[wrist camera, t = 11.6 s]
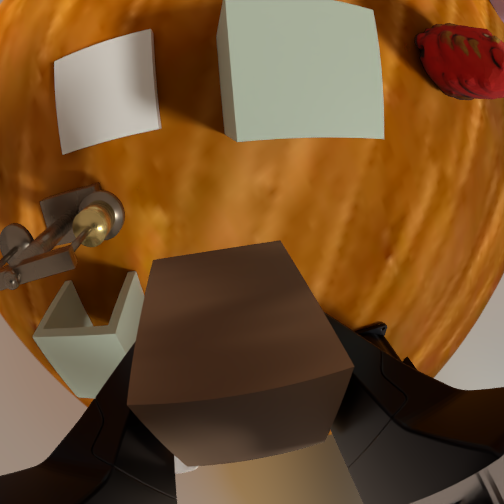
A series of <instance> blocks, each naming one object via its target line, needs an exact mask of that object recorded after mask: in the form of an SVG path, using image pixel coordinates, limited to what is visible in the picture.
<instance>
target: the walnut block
mask: <svg viewBox="0 0 504 504" xmlns="http://www.w3.org/2000/svg"><path fill="white" fill-rule="evenodd" d="M353 369H354V365H353V363H352V361H351V359H350V358H349V356H348V354H347V352H346V350H345V349H344V347H343V345H342V343H341V342H340V340H339V338H338V336H337V335H336V333H335V331H334V329H333V328H332V326H331V324H330V323H329V321H328V319H327V317H326V316H325V314H324V312H323V311H322V309H321V307H320V305H319V304H318V302H317V300H316V299H315V297H314V295H313V294H312V292H311V290H310V289H309V287H308V285H307V284H306V282H305V280H304V279H303V277H302V275H301V274H300V272H299V270H298V269H297V267H296V265H295V264H294V262H293V260H292V259H291V257H290V256H289V254H288V252H287V251H286V249H285V247H284V246H283V244H282V243H281V241H273V242H267V243H260V244H253V245H247V246H240V247H234V248H227V249H221V250H214V251H208V252H202V253H195V254H189V255H183V256H176V257H170V258H164V259H157V260H153V263H152V267H151V271H150V275H149V279H148V283H147V288H146V292H145V297H144V301H143V306H142V311H141V316H140V321H139V326H138V331H137V337H136V342H135V348H134V354H133V361H132V367H131V374H130V382H129V390H128V399H127V406H128V407H129V408H130V409H131V410H132V412H133V413H134V414H135V415H136V416H137V417H138V418H139V420H140V421H141V422H142V423H143V424H144V425H145V426H146V427H147V428H148V429H149V430H150V432H151V433H152V434H153V435H154V436H155V437H156V438H157V439H158V440H159V441H160V442H161V443H162V444H163V445H164V446H165V447H166V448H167V449H168V450H169V451H171V452H172V453H173V454H174V455H175V456H176V457H177V458H178V459H179V460H180V461H181V462H182V463H184V464H185V465H186V466H187V467H190V466H205V465H215V464H225V463H233V462H240V461H247V460H253V459H258V458H263V457H268V456H273V455H278V454H283V453H287V452H291V451H295V450H299V449H303V448H306V447H309V446H313V445H317V444H320V443H323V442H325V440H326V438H327V435H328V433H329V431H330V429H331V426H332V424H333V422H334V419H335V417H336V415H337V412H338V410H339V407H340V405H341V402H342V400H343V397H344V394H345V392H346V389H347V386H348V384H349V381H350V378H351V375H352V372H353Z"/></svg>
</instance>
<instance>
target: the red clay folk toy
mask: <svg viewBox="0 0 504 504" xmlns="http://www.w3.org/2000/svg"><path fill="white" fill-rule="evenodd" d="M415 44H416V46H417V47H418V48H419V49H420V50H421V54H420V60H421V62H422V64H423V66H424V69H425V71H426V72H427V74H428V75H429V77H430V78H431V80H432V81H433V82H434V83H435V84H436V85H437V86H439V88H440V90H441V91H442V92H443V93H444V94H445V95H447V96H450V97H454V98H456V99H459V100H472V99H474V98H476V99H496V98H503V97H504V43H503V42H502V41H501V40H500V39H498V38H497V37H495V36H492V34H491V33H490V31H488V30H487V29H482V28H474V27H468V26H462V25H455V24H451V23H446V24H445V25H442V24H435V25H434V26H433V27H432V28H431V29H430V28H427V29H426V30H425V32H424V33H420V34H417V35H416V37H415Z"/></svg>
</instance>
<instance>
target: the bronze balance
mask: <svg viewBox="0 0 504 504" xmlns="http://www.w3.org/2000/svg"><path fill="white" fill-rule="evenodd" d="M40 205H41V209H42V212H43V216H44V219H45V222H46V225H47V229H46V230H44V231H43V232H42V233H41V234H40V235H39V236H38V237H37V238H36V239H35V240H34V239H33V237H32V235H31V234H30V232H29V231H28V230H27V229H26V228H25V227H24V226H22V225H21V224H18V223H11V224H9V225H8V226H7V227H5V228H4V229H3V230H2V232H1V234H0V249H1V252H2V255H3V258H2V259H1V260H0V290H4V289H7V288H8V289H11V290H14V289H16V288H17V287H18V286H19V285H20V284H23V283H27V282H30V281H33V280H37V279H40V278H43V277H47V276H50V275H54V274H57V273H61V272H64V271H68V270H71V269H75V267H76V265H77V262H78V261H77V258H76V255H75V253H74V252H75V251H76V249H77V248H78V247H79V246H80V244H83V245H85V246H87V247H95V246H98V245H99V244H101V243H102V242H103V240H108V239H111V238H113V237H114V236H116V235H117V234H118V232H119V231H120V229H121V228H122V226H123V224H124V220H125V212H124V208H123V205H122V203H121V201H120V200H119V199H118V198H117V197H116V196H115V195H114V194H113V193H111V192H108V191H105V190H101V188H100V183H95V184H91V185H88V186H84V187H80V188H77V189H73V190H70V191H66V192H63V193H59V194H56V195H53V196H50V197H47V198H45V199H43V200H42V201H40ZM71 242H72V244H71V245H68V246H65V247H61V248H58V249H55V250H52V249H53V248H54V247H55V246H56V245H61V244H66V243H71ZM51 250H52V251H51ZM6 262H7V263H8V264H9V265H7V266H4V265H5V263H6ZM3 266H4V267H3Z"/></svg>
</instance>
